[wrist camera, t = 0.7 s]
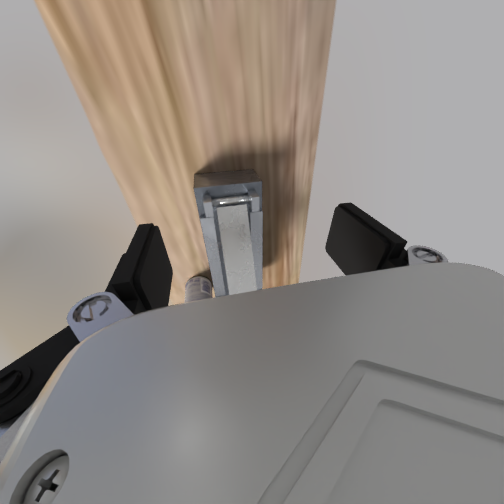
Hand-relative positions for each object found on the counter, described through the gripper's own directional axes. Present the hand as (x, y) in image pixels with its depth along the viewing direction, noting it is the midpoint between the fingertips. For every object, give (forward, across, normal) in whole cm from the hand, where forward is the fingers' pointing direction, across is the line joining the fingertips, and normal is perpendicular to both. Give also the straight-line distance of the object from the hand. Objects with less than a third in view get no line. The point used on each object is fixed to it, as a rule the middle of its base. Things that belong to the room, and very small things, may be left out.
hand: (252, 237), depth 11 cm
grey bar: (+13, -1, +13) cm, 19 cm away
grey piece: (+24, -1, +14) cm, 28 cm away
